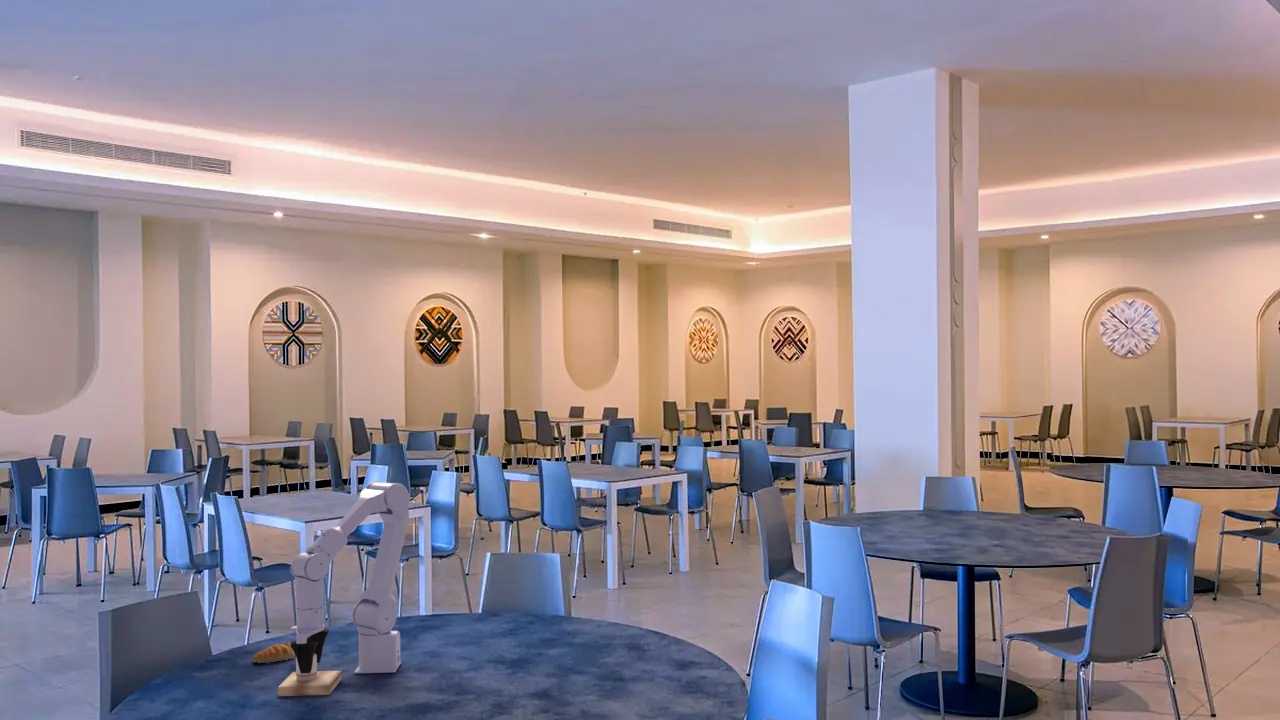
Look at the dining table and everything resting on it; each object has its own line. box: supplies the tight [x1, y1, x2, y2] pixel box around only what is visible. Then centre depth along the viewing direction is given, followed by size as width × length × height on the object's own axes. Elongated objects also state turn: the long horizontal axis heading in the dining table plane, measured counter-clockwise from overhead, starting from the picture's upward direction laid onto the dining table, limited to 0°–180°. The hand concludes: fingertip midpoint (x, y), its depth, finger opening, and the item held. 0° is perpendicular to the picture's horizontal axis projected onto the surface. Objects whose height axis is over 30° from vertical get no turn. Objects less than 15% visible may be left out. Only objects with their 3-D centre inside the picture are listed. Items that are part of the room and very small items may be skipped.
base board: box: [277, 670, 343, 697], centre depth 226 cm, size 11×11×2 cm
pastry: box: [252, 642, 296, 664], centre depth 249 cm, size 9×7×4 cm
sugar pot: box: [295, 654, 318, 681], centre depth 226 cm, size 4×4×5 cm
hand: (310, 667), depth 226 cm, fingers open, 7 cm apart
